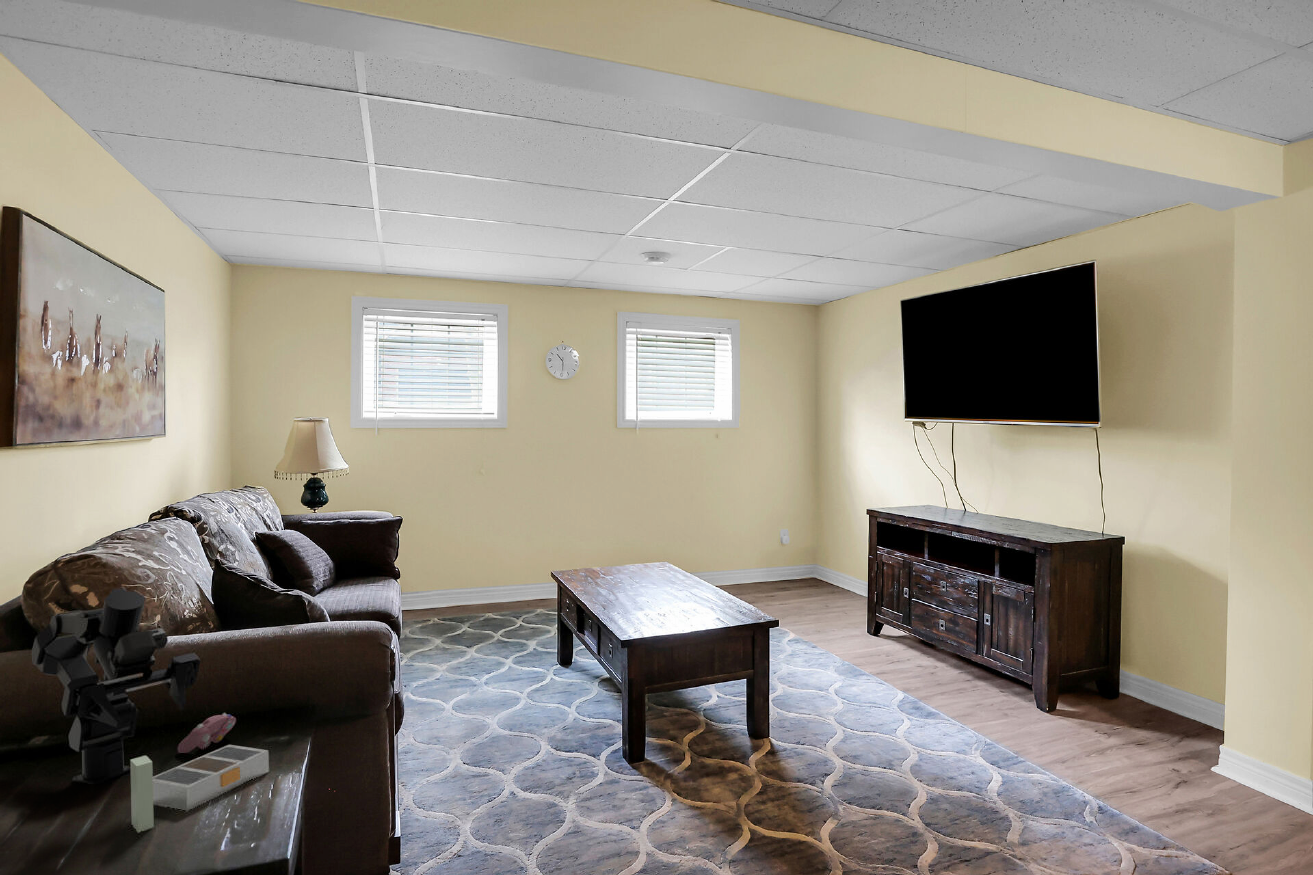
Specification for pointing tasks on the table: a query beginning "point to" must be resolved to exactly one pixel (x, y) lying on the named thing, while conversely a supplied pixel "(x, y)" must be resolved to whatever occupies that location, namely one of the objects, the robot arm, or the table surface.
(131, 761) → the pale green rectangular block
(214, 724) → the video game controller
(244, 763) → the rack
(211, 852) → the table surface
